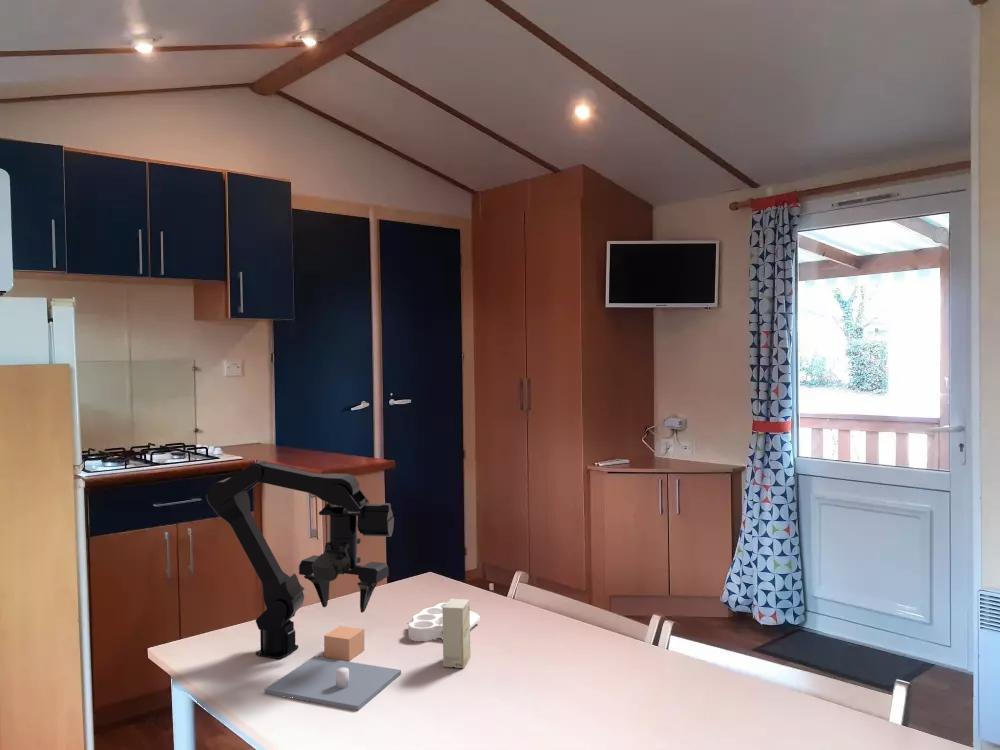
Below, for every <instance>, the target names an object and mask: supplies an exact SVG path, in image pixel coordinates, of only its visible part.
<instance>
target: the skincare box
mask: <svg viewBox="0 0 1000 750" xmlns="http://www.w3.org/2000/svg"><path fill="white" fill-rule="evenodd" d="M445 603H446V604H445V605H444V606H443V608H442V609H443V639H442V651H443V653H442V654H443V655H442V661H443V667H444V668H452V667H455V669H464V668H465V666H466V665H467V663H468V662H469V660H470V659H471V654H472V653H471V629H470V611H471V610H470V607H471V605H470V599H469V598H449V599H448V600H447V601H446V602H445Z"/></svg>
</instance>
